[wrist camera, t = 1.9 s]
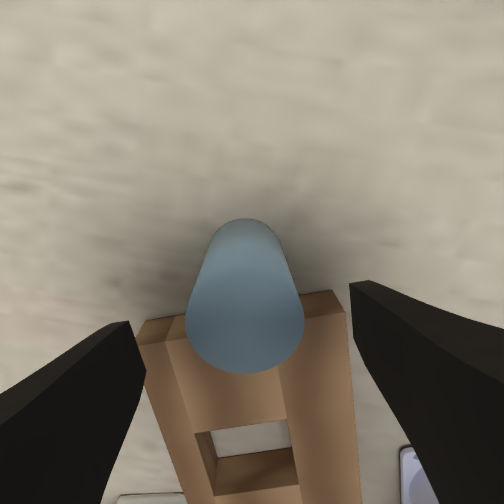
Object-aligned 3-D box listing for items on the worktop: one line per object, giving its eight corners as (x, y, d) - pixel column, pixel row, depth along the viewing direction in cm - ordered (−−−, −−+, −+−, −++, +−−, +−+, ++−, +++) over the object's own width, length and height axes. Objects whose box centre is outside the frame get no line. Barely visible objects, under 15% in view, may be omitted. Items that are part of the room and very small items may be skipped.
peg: (275, 212, 16) (296, 259, 10) (286, 281, 18) (311, 364, 11) (201, 225, 16) (171, 281, 10) (217, 292, 18) (200, 381, 11)
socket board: (332, 289, 18) (345, 312, 15) (351, 482, 23) (363, 520, 21) (145, 321, 18) (130, 347, 16) (206, 502, 23) (201, 542, 21)
